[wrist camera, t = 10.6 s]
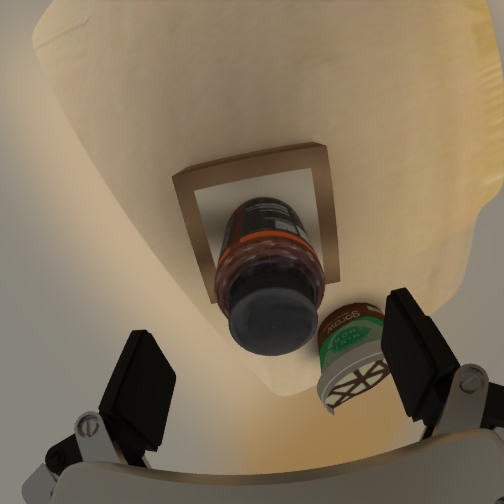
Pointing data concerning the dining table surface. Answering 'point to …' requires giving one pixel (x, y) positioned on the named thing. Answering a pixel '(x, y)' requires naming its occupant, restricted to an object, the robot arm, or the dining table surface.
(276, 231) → the supplement bottle
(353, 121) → the dining table surface
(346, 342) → the food container
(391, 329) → the robot arm
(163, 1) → the dining table surface
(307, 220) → the walnut base
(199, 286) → the dining table surface
